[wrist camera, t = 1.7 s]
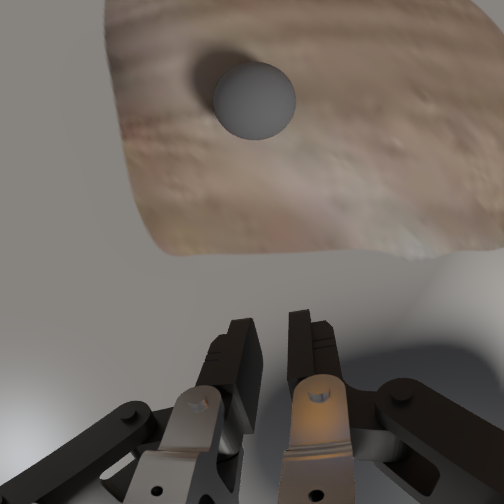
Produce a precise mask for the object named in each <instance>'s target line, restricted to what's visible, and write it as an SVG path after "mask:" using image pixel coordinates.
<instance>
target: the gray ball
mask: <svg viewBox="0 0 504 504" xmlns="http://www.w3.org/2000/svg"><path fill="white" fill-rule="evenodd" d="M213 106H214V111H215V114H216V116H217V119H218V120H219V122H220V123H221V125H222V126H223V127H224V128H225V129H226V130H227V131H229V132H230V133H231V134H233V135H235V136H237V137H240V138H242V139H247V140H263V139H267V138H270V137H272V136H274V135H276V134H278V133H279V132H281V131H282V130H283V129H284V128H285V127H286V126H287V125H288V124H289V122H290V121H291V119H292V117H293V114H294V111H295V107H296V96H295V91H294V88H293V86H292V84H291V82H290V80H289V79H288V77H287V76H286V75H285V74H284V73H283V72H282V71H280V70H279V69H277V68H276V67H274V66H272V65H269V64H266V63H261V62H248V63H243V64H240V65H237V66H235V67H233V68H232V69H230V70H229V71H227V72H226V73H225V74H224V75H223V76H222V77H221V79H220V80H219V82H218V83H217V85H216V88H215V91H214V96H213Z"/></svg>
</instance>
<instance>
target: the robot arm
mask: <svg viewBox="0 0 504 504" xmlns="http://www.w3.org/2000/svg"><path fill="white" fill-rule="evenodd" d="M262 372H263V356H262V351H261V347H260V343H259V339H258V335H257V332H256V328H255V324H254V321H253V319H252V318H245V319H237V320H232V321H231V323H230V326H229V329H228V332H227V334H222V335H219V336H218V337H217V338H216V339H215V340H214V341H213V342H212V343H211V345H210V348H209V350H208V355H207V356H206V359H205V362H204V364H203V366H202V369H201V372H200V374H199V377H198V380H197V382H196V385H195V387H193V388H190V389H188V390H186V391H185V392H183V393H182V394H181V395H180V396H179V397H178V399H177V401H176V403H175V405H174V407H171V408H167V409H162V410H158V411H153V412H152V411H151V409H150V408H149V406H148V405H147V404H146V403H144V402H142V401H130V402H127V403H124V404H123V405H121V406H119V407H118V408H116V409H115V410H113V411H112V412H111V413H110V414H108V415H106V416H105V417H104V418H102V419H101V420H99V421H98V422H96V423H95V424H94V425H92V426H91V427H89V428H88V429H86V430H85V431H83V432H82V433H81V434H79V435H78V436H76V437H75V438H73V439H72V440H70V441H69V442H67V443H66V444H64V445H63V446H61V447H60V448H58V449H57V450H56V451H54V452H53V453H51V454H50V455H48V456H46V457H45V458H43V459H42V460H40V461H39V462H37V463H36V464H35V465H33V466H31V467H30V468H28V469H27V470H25V471H23V472H22V473H20V474H19V475H17V476H16V477H14V478H12V479H11V480H9V481H8V482H6V483H4V484H3V485H1V486H0V504H239V490H240V482H241V474H242V466H243V458H244V448H243V446H242V441H243V435H244V434H254V430H255V422H256V416H257V409H258V401H259V394H260V387H261V379H262ZM287 381H288V385H289V390H290V394H291V399H292V404H293V408H292V419H291V432H290V444H289V449H288V450H285V452H284V455H283V460H282V469H281V478H280V485H279V493H278V501H277V504H355V482H354V466H353V460H363V461H373V463H374V465H375V466H377V468H379V469H380V470H381V471H382V472H383V473H384V474H386V475H387V476H388V477H389V478H390V479H391V480H393V481H394V482H395V483H396V484H397V485H398V486H400V487H401V488H402V489H403V490H404V491H406V492H407V493H408V494H409V495H411V496H412V497H413V498H414V499H416V500H417V501H418V502H419V503H420V504H504V431H503V430H501V429H500V428H498V427H496V426H494V425H492V424H491V423H489V422H487V421H485V420H484V419H482V418H480V417H479V416H477V415H475V414H473V413H472V412H470V411H468V410H466V409H465V408H463V407H461V406H460V405H458V404H456V403H454V402H453V401H451V400H449V399H447V398H446V397H444V396H442V395H441V394H439V393H437V392H436V391H434V390H432V389H431V388H429V387H427V386H426V385H424V384H422V383H421V382H419V381H417V380H414V379H410V378H397V379H394V380H390V381H389V382H386V383H385V384H383V385H382V386H381V387H380V388H379V389H378V391H377V392H373V391H361V390H357V389H354V388H352V387H350V386H349V385H348V384H346V383H345V381H344V380H343V378H342V373H341V368H340V362H339V356H338V351H337V347H336V340H335V335H334V330H333V327H332V326H331V325H330V324H329V323H328V322H326V320H325V321H319V322H312V323H311V318H310V311H309V309H307V310H300V311H294V312H289V330H288V367H287ZM129 452H131V454H132V455H133V456H134V458H135V459H134V460H133V461H132V462H130V463H129V464H128V465H127V466H125V467H124V468H123V469H121V470H120V471H119V472H117V473H116V474H115V475H113V476H112V477H111V478H109V479H106V480H102V479H99V477H100V475H101V474H102V473H103V472H104V471H105V470H107V469H108V468H109V467H111V466H112V465H113V464H115V463H116V462H117V461H119V460H120V459H121V458H123V457H124V456H125V455H127V454H128V453H129Z"/></svg>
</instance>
